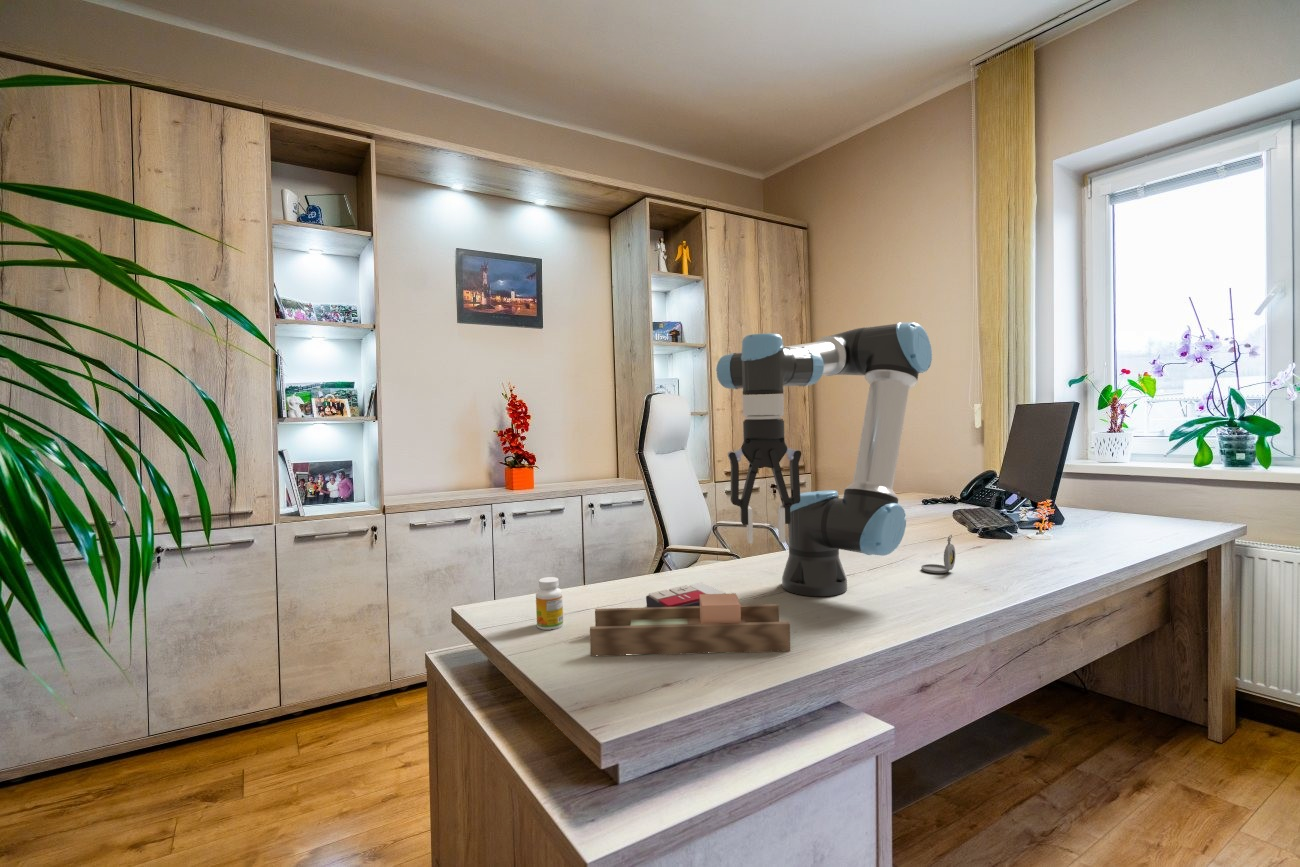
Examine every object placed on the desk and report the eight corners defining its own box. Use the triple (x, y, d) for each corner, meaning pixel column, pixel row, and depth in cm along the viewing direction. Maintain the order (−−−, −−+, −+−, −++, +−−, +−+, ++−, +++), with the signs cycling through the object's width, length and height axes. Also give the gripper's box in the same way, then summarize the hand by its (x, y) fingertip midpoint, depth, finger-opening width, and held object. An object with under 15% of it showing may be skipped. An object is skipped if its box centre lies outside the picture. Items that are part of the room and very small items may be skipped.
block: (736, 618, 125) (735, 593, 124) (741, 631, 118) (740, 604, 118) (700, 619, 125) (699, 594, 125) (702, 632, 118) (702, 605, 118)
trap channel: (778, 628, 127) (777, 604, 127) (790, 651, 116) (789, 623, 115) (596, 633, 127) (595, 608, 127) (590, 656, 116) (589, 628, 116)
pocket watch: (918, 567, 170) (917, 530, 169) (951, 568, 168) (951, 530, 168) (927, 576, 162) (926, 536, 161) (962, 576, 160) (962, 536, 160)
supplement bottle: (534, 624, 134) (532, 578, 134) (559, 620, 136) (557, 574, 136) (540, 632, 129) (538, 584, 129) (566, 627, 131) (564, 580, 131)
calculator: (644, 592, 143) (702, 579, 150) (646, 611, 143) (704, 597, 150) (667, 605, 133) (728, 591, 140) (669, 625, 133) (730, 610, 140)
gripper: (807, 416, 123) (810, 536, 124) (712, 418, 123) (715, 538, 124) (817, 416, 116) (820, 544, 117) (716, 419, 116) (719, 547, 117)
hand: (766, 541), depth 120 cm, fingers open, 5 cm apart
